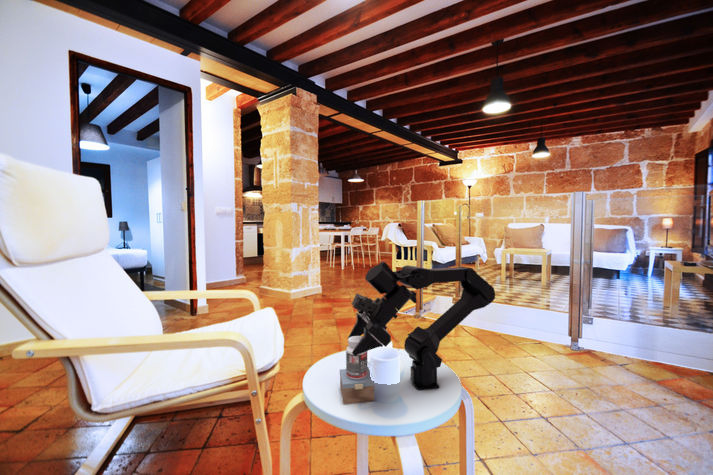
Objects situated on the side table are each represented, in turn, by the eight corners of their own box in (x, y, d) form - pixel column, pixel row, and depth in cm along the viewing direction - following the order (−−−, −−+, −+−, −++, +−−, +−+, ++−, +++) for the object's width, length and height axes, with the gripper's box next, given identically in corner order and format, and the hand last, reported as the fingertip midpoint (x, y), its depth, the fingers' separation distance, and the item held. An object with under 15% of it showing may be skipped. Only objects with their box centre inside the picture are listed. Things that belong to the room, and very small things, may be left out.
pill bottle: (365, 381, 78) (365, 343, 77) (344, 379, 79) (343, 342, 79) (369, 371, 84) (368, 335, 83) (348, 369, 85) (348, 334, 84)
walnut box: (368, 384, 86) (368, 371, 86) (374, 401, 78) (374, 386, 78) (340, 387, 85) (340, 373, 85) (343, 404, 77) (343, 388, 77)
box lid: (368, 371, 86) (368, 367, 86) (374, 387, 77) (374, 382, 77) (339, 374, 85) (339, 369, 85) (343, 390, 76) (342, 385, 76)
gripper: (363, 277, 90) (327, 316, 89) (377, 291, 71) (331, 340, 70) (389, 302, 91) (353, 341, 90) (409, 322, 73) (365, 370, 72)
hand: (350, 346), depth 81 cm, fingers open, 9 cm apart
